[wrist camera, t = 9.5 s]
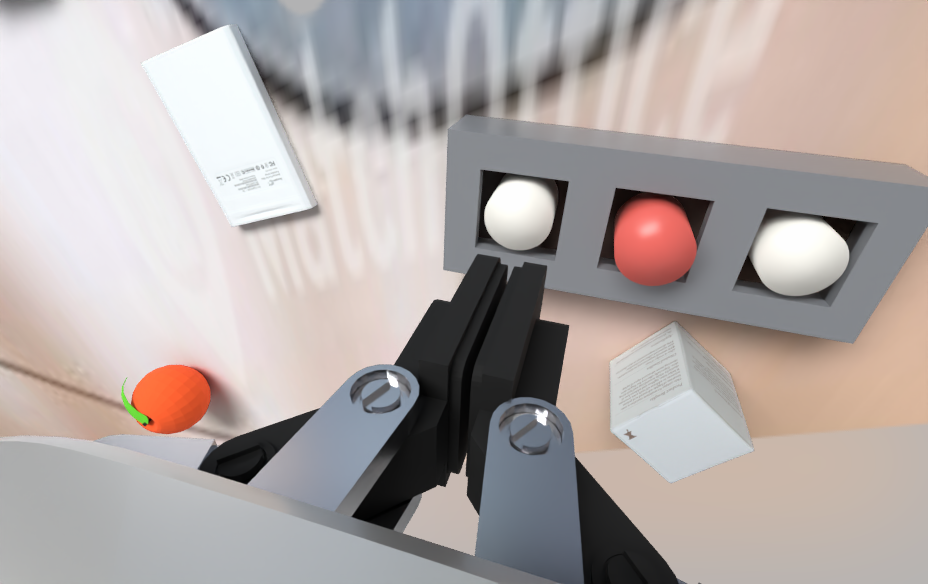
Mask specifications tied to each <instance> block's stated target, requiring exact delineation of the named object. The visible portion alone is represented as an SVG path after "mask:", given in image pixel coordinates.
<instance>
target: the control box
mask: <svg viewBox="0 0 928 584" xmlns="http://www.w3.org/2000/svg"><path fill="white" fill-rule="evenodd" d="M483 170H490V171H497V172H504V173H512V174H519V175H526V176H534V177H541V178H549V179H556V180H563V181H569V185H568V190H567V196H566V201H565V207H564V213H563V218H562V224H561V229H560V235H559V241H558V246H557V250H555V249H549V248H543V247H537V246H536V247H534V248H531V249H528V250H512V249H509V248H506V247H504V246H502V245H500V244H499V243H497V242H496V241H495V240H494V239H488V238H482V237H478V234H479V221H480V207H481V194H482V181H483ZM616 188H622V189H630V190H637V191H644V192H652V193H659V194H666V195H674V196H681V197H689V198H696V199H703V200H710V203H709V206H708V209H707V211H706V214H705V217H704V220H703V223H702V226H701V228H700V231H699V234H698V237H697V240H696V245H697V252H696V257H695V260H694V262H693V264H692V266H691V268H690V269H689V270H688V271H687V272H686V273H685V274H684V275H683V276H682V277H680V278H679V279H677V280H675V281H673V282H671V283H668V284H665V285H659V286H646V285H641V284H638V283H635V282H633V281H631V280H629V279H628V278H626V277H625V276H624V275H623V274H622V273H621V272H620V270H619V269H618V267H617V265H616V262H615V259H610V258H604V257H600V253H601V248H602V244H603V240H604V236H605V231H606V227H607V223H608V219H609V214H610V210H611V206H612V202H613V197H614V193H615V189H616ZM767 208H770V209H777V210H784V211H792V212H799V213H807V214H814V215H821V216H829V217H836V218H843V219H851V220H857V222H856V224H855V226H854V227H853V229H852V231H851V233H850V235H849V237H848V239H847V240H846V244H847V246H848V250H849V261H848V265H847V267H846V269H845V271H844V272H843V274H842V275H841V276H840V277H839V278H838V279H837V280H836V281H835V282H834V283H833V284H831V285H830V286H828V287H827V288H825V289H823V290H821V291H819V292H818V293H817V292H815V293H812V294H808V295H802V296H788V295H783V294H779V293H776V292H774V291H772V290H771V289H769V288H768V287H767V286H765V285H764V284H762V283H756V282H750V281H744V280H738V279H737V278H738V275H739V273H740V271H741V268H742V266H743V264H744V261H745V259H746V257H747V254H748V252H749V250H750V247H751V245H752V243H753V240H754V238H755V236H756V233H757V231H758V229H759V226H760V224H761V221H762V219H763V217H764V214H765V212H766V210H767ZM927 227H928V177H927V176H925V175H924V174H922V173H920V172H918V171H916V170H915V169H913V168H911V167H909V166H907V165H904V164H896V163H887V162H878V161H869V160H860V159H852V158H843V157H834V156H825V155H816V154H808V153H799V152H790V151H781V150H772V149H764V148H755V147H746V146H737V145H728V144H720V143H711V142H702V141H693V140H684V139H676V138H667V137H658V136H649V135H641V134H632V133H623V132H614V131H605V130H597V129H588V128H579V127H570V126H561V125H553V124H544V123H535V122H526V121H517V120H509V119H500V118H491V117H482V116H473V115H465V116H464V117H463V118H462V119H460V120H459V121H458V122H456V123H455V124H454V125H453V126H451V127H450V128H449V129H448V147H447V177H446V207H445V237H444V267H443V270H447V271H453V272H458V273H464V274H466V273H467V271H468V269H469V268H470V266H471V264H472V262H473V261H474V259H475V257H476V255H477V254H482V255H488V256H494V257H500V259H501V264H505V265H508V275H507V281H508V280H509V278H510V275H511V273H512V270H513V268H514V266H517V267H522V266H523V263H524V262H529V263H535V264H541V265H547V273H546V280H545V286H544V288H547V289H553V290H558V291H564V292H569V293H575V294H580V295H586V296H591V297H597V298H602V299H608V300H614V301H619V302H625V303H630V304H636V305H641V306H647V307H652V308H658V309H664V310H669V311H675V312H680V313H686V314H691V315H697V316H702V317H708V318H713V319H719V320H725V321H730V322H736V323H741V324H747V325H752V326H758V327H763V328H769V329H774V330H780V331H786V332H791V333H797V334H802V335H808V336H813V337H819V338H824V339H830V340H836V341H841V342H847V343H852V344H853V343H854V341H855V340H856V338H857V337H858V335H859V334H860V332H861V330H862V329H863V327H864V326H865V324H866V323H867V321H868V319H869V318H870V316H871V315H872V313H873V312H874V310H875V308H876V307H877V305H878V304H879V302H880V301H881V299H882V297H883V296H884V294H885V293H886V291H887V290H888V288H889V286H890V285H891V283H892V282H893V280H894V279H895V277H896V275H897V274H898V272H899V271H900V269H901V268H902V266H903V264H904V263H905V261H906V260H907V258H908V257H909V255H910V253H911V252H912V250H913V249H914V247H915V246H916V244H917V242H918V241H919V239H920V238H921V236H922V235H923V233H924V231H925V230H926V228H927Z"/></svg>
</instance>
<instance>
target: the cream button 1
mask: <svg viewBox="0 0 928 584" xmlns="http://www.w3.org/2000/svg"><path fill="white" fill-rule="evenodd" d="M558 201H559V192H558V188H557V185H556V183H555V181H554V180H553V179H549V178H541V177H534V176H526V175H519V174H512V173H507V174H506V175H505V176H504V177H503V178H502V180H501V182H500V183H499V185H498V186H497V188H496V190H495V191H494V193H493V195H492V196H491V198H490V200H489V201H488V203H487V205H486V208H485V213H484V220H485V225H486V228H487V230H488V232H489V234H490V235H491V237H492V238H493V239H494V240H495V241H496V242H497V243H499V244H500V245H502V246H504V247H506V248H509V249H512V250H528V249H531V248H534V247H536V246H538V245H539V244H541V243H542V242H543V241H544V240H545V239H546V238H547V236H548V235H549V233H550V231H551V228H552V224H553V220H554V217H555V213H556V209H557V205H558Z"/></svg>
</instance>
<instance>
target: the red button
mask: <svg viewBox="0 0 928 584" xmlns="http://www.w3.org/2000/svg"><path fill="white" fill-rule="evenodd" d="M696 252H697V245H696V241H695V238H694V235H693V232H692V229H691V226H690V224H689V221H688V218H687V215H686V212H685V210H684V208H683V206H682V205H681V203H680V202H679V201H678V200H677V199H675V198H674V197H673V196H671V195H666V194H659V193H652V192H644V193H641V194H638V195H635V196H633V197H632V198H630V199H629V200H627V201H626V202H625V203H624V204H623V205H622V206H621V207H620V209H619V210H618V212H617V214H616V217H615V220H614V257H615V262H616V265H617V267H618V269H619V270H620V272H621V273H622V274H623V275H624V276H625V277H626V278H628V279H629V280H631V281H633V282H635V283H638V284H641V285H646V286H659V285H665V284H668V283H671V282H673V281H675V280H677V279H679V278H680V277H682V276H683V275H684V274H685V273H686V272H687V271H688V270H689V269H690V268H691V266H692V264H693V262H694V260H695V257H696Z"/></svg>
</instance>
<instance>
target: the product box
mask: <svg viewBox="0 0 928 584" xmlns="http://www.w3.org/2000/svg"><path fill="white" fill-rule="evenodd" d="M610 430H611V432H612V433H613V434H614V435H616V436H617V437H618V438H619V439H620V440H621V441H623V442H624V443H625V444H626V445H627V446H628V447H630V448H631V449H632V450H633V451H634V452H635V453H636V454H638V455H639V456H640V457H641V458H642V459H643V460H644V461H645V462H647V463H648V464H649V465H650V466H651V467H652V468H653V469H654V470H656V471H657V472H658V473H659V474H660V475H661V476H663V478H665V479H666V480H667V481H668V482H669V483H673V482H676V481H678V480H680V479H683V478H686V477H688V476H691V475H693V474H696V473H698V472H701V471H704V470H706V469H708V468H711V467H714V466H716V465H719V464H721V463H724V462H726V461H729V460H731V459H734V458H737V457H739V456H742V455H745V454H747V453H750V452H753V451H754V447H753V444H752V441H751V437H750V434H749V431H748V427H747V424H746V421H745V418H744V415H743V412H742V408H741V405H740V402H739V399H738V396H737V393H736V390H735V387H734V384H733V381H732V378H731V375H730V373H729V372H728V371H727V370H726V369H725V368H724V367H723V366H722V365H721V364H720V363H719V362H718V361H717V360H716V359H715V358H714V357H713V356H712V355H711V354H710V353H709V352H707V351H706V350H705V349H704V348H703V347H702V346H701V345H700V344H699V343H698V342H697V341H696V340H695V339H694V338H693V337H692V336H691V335H690V334H689V333H688V332H687V331H686V330H685V329H684V328H683V327H682V326H681V325H680V324H679V323H677V322H676V321H674V322H672V323H671V324H669V325H668V326H666V327H664V328H663V329H661V330H660V331H658V332H656V333H655V334H653V335H651V336H650V337H648V338H647V339H645V340H643V341H642V342H640V343H639V344H637V345H635V346H634V347H632V348H631V349H629V350H627V351H626V352H624V353H623V354H621V355H619V356H618V357H616V358H615V359H613V360H611V361H610Z"/></svg>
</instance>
